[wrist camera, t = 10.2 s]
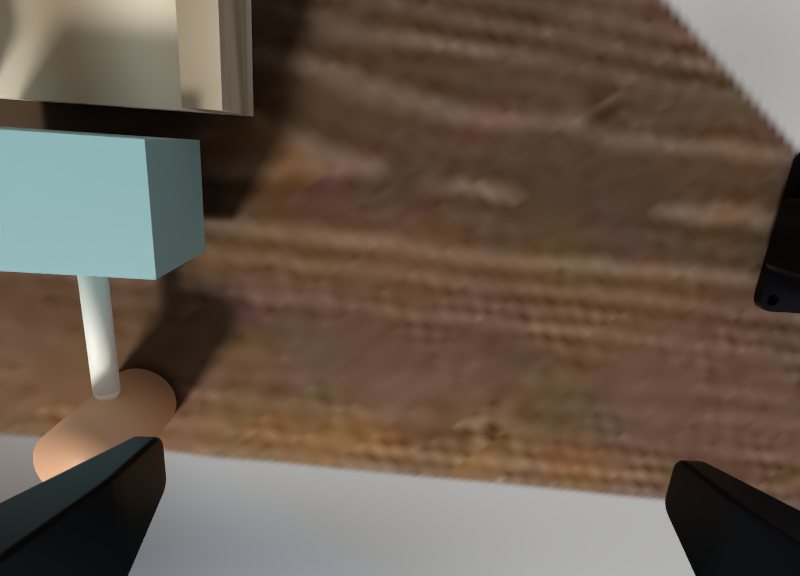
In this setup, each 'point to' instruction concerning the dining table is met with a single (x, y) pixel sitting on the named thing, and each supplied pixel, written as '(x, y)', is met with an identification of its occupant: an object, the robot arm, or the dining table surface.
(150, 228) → the lever with tan knob
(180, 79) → the lane
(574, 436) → the dining table surface
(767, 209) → the dining table surface
